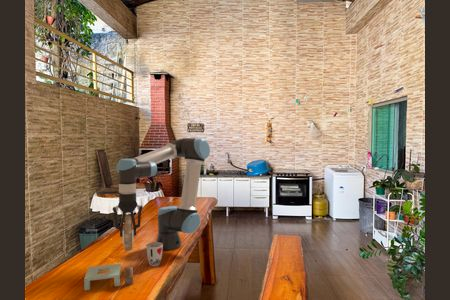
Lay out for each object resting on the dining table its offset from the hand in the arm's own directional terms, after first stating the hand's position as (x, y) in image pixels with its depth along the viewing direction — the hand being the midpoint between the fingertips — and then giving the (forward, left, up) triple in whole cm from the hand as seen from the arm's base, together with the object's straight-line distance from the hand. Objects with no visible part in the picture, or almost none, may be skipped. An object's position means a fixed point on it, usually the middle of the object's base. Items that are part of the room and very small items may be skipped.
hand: (128, 242), depth 142 cm
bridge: (+11, +2, -16) cm, 19 cm away
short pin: (0, +7, -16) cm, 17 cm away
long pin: (0, 0, -3) cm, 3 cm away
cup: (-12, -11, -16) cm, 23 cm away
